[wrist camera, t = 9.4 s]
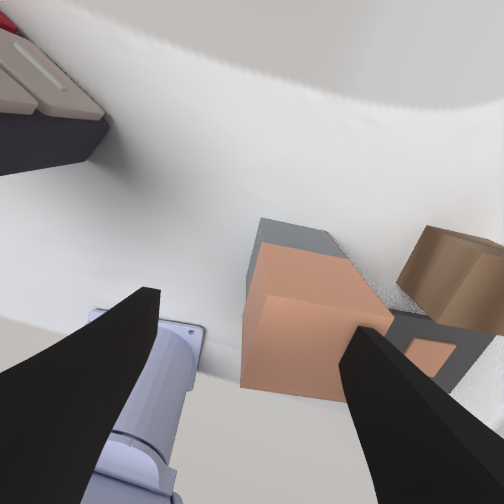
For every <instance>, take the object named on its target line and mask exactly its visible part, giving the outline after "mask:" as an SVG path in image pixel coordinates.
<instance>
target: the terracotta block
mask: <svg viewBox="0 0 504 504" xmlns="http://www.w3.org/2000/svg"><path fill="white" fill-rule="evenodd" d="M393 320H394V316H393V315H392V314H391V312H390V311H389V310H388V309H387V307H386V306H385V305H384V304H383V302H382V301H381V300H380V299H379V297H378V296H377V295H376V293H375V292H374V291H373V290H372V288H371V287H370V286H369V285H368V283H367V282H366V281H365V279H364V278H363V277H362V276H361V274H360V273H359V272H358V271H357V269H356V268H355V267H354V266H353V264H352V263H351V262H350V260H349V259H344V258H339V257H334V256H329V255H324V254H319V253H314V252H310V251H305V250H300V249H295V248H290V247H285V246H280V245H275V244H270V243H265V242H261V246H260V250H259V254H258V258H257V262H256V266H255V269H254V273H253V277H252V281H251V285H250V289H249V293H248V297H247V301H246V304H245V308H244V312H243V324H242V351H241V379H240V387H241V388H247V389H254V390H261V391H268V392H275V393H282V394H289V395H296V396H303V397H310V398H317V399H324V400H331V401H337V402H344V403H347V401H346V398H345V395H344V391H343V387H342V382H341V377H340V372H339V366H338V363H339V362H340V360H341V358H342V356H343V354H344V352H345V350H346V348H347V346H348V344H349V342H350V340H351V338H352V336H353V334H354V333H355V331H356V329H357V327H358V326H364V327H369V328H374V329H375V330H376V331H378V332H379V333H380V334H381V335H383V336H385V334H386V332H387V331H388V329H389V327H390V325H391V324H392V322H393Z"/></svg>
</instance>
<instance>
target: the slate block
mask: <svg viewBox="0 0 504 504" xmlns="http://www.w3.org/2000/svg"><path fill="white" fill-rule="evenodd" d="M261 242H265V243H270V244H275V245H280V246H285V247H290V248H295V249H300V250H305V251H310V252H314V253H319V254H324V255H329V256H334V257H339V258H344V259H348V258H347V256H346V255H345V254H344V253H343V251H342V250H341V249H340V247H339V246H338V245H337V244H336V242H335V241H334V240H333V239H332V237H331V236H330V235H329V233H328V232H327V231H322V230H317V229H313V228H308V227H303V226H299V225H294V224H289V223H284V222H280V221H275V220H270V219H265V218H261V219H260V223H259V227H258V231H257V235H256V239H255V243H254V247H253V252H252V256H251V260H250V264H249V268H248V272H247V276H246V301H247V297H248V293H249V289H250V285H251V281H252V277H253V273H254V269H255V266H256V262H257V258H258V254H259V250H260V246H261ZM350 262H351V261H350Z"/></svg>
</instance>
